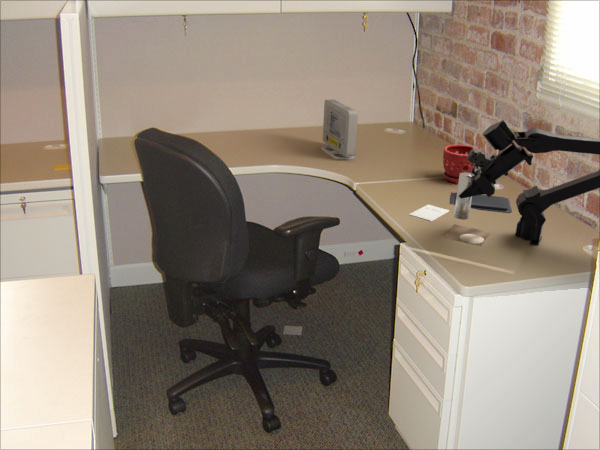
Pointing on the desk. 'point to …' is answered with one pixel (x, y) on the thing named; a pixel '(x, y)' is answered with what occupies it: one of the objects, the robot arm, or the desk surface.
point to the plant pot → (456, 162)
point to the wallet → (486, 203)
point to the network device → (339, 129)
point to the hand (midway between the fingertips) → (459, 194)
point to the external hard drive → (429, 212)
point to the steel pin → (465, 203)
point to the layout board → (467, 235)
